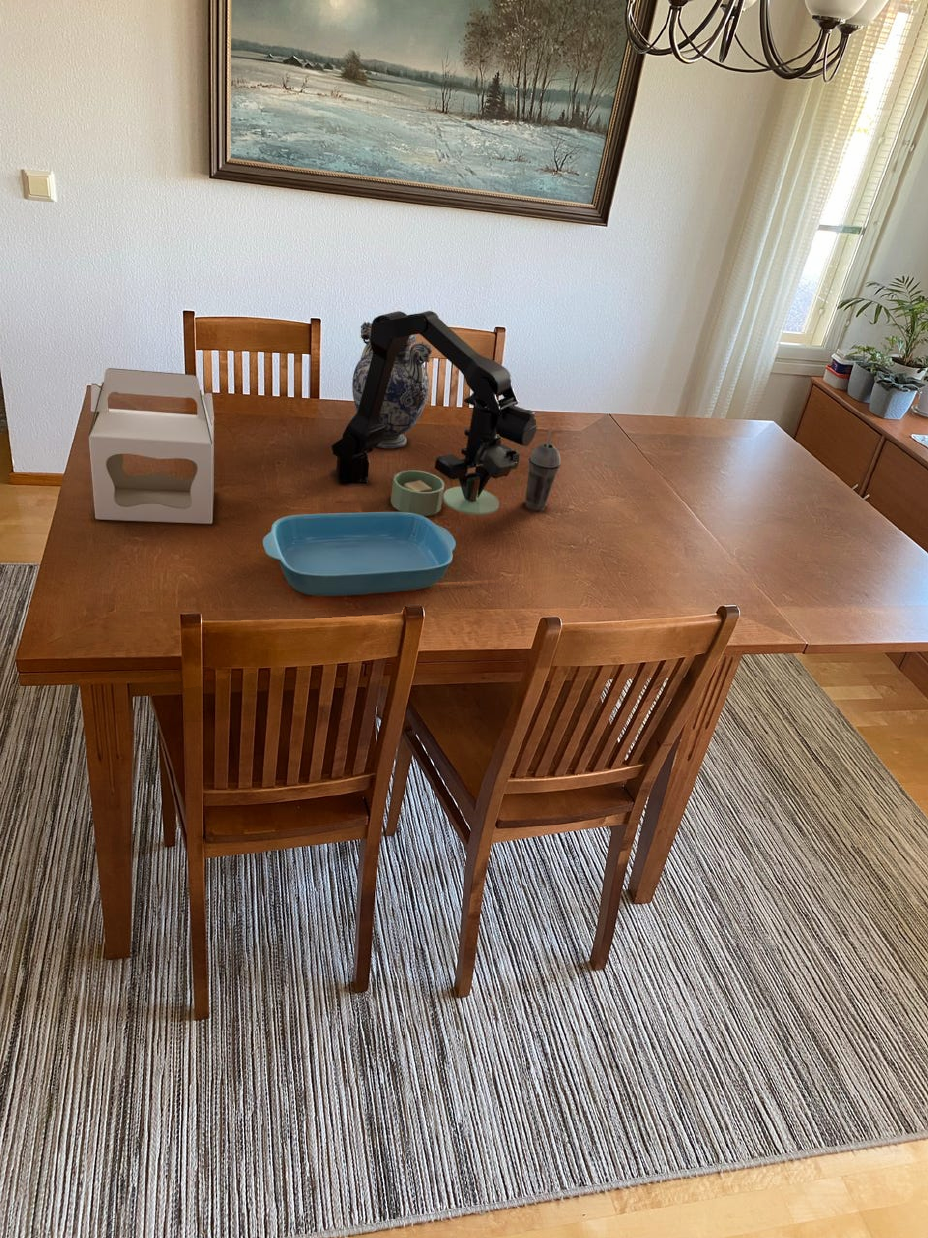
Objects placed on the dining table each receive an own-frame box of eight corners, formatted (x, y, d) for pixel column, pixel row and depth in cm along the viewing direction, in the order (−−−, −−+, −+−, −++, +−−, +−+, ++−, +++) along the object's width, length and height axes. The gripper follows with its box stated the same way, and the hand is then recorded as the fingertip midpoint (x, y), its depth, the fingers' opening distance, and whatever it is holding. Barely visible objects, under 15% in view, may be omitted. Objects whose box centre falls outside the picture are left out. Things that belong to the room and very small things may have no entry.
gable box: (214, 494, 188) (215, 364, 173) (213, 524, 178) (213, 389, 162) (102, 488, 183) (92, 354, 167) (93, 519, 172) (82, 379, 157)
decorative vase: (328, 434, 223) (336, 322, 208) (375, 418, 237) (387, 311, 221) (394, 464, 214) (408, 349, 199) (439, 446, 228) (456, 337, 213)
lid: (453, 518, 183) (457, 491, 179) (435, 491, 192) (439, 465, 188) (506, 517, 187) (511, 490, 184) (486, 490, 196) (491, 465, 193)
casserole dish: (273, 610, 157) (275, 575, 153) (252, 545, 173) (253, 513, 169) (467, 597, 170) (473, 565, 166) (430, 539, 187) (435, 508, 183)
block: (413, 509, 195) (416, 491, 193) (402, 501, 198) (404, 483, 196) (429, 506, 198) (432, 488, 196) (417, 497, 201) (420, 480, 198)
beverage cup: (554, 506, 209) (573, 426, 198) (543, 518, 203) (562, 436, 192) (525, 497, 211) (543, 417, 200) (514, 507, 205) (531, 426, 194)
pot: (398, 518, 192) (401, 493, 189) (384, 494, 200) (387, 470, 197) (447, 517, 196) (451, 492, 193) (431, 493, 205) (435, 469, 201)
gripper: (474, 451, 170) (461, 523, 178) (543, 438, 181) (528, 506, 190) (438, 429, 176) (428, 499, 185) (507, 417, 188) (494, 484, 196)
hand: (471, 498), depth 189 cm, fingers closed on lid, 2 cm apart
